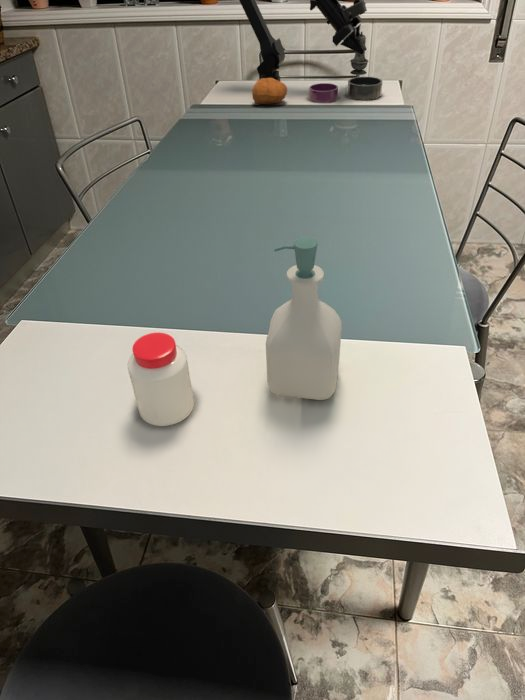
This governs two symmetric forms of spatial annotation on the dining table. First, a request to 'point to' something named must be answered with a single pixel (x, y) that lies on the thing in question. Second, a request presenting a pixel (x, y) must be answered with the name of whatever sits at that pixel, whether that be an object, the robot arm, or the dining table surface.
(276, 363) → the soap bottle
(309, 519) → the dining table surface
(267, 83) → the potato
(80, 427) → the dining table surface
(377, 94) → the charcoal bowl
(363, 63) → the salt shaker
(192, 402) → the pill bottle
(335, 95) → the plum bowl
